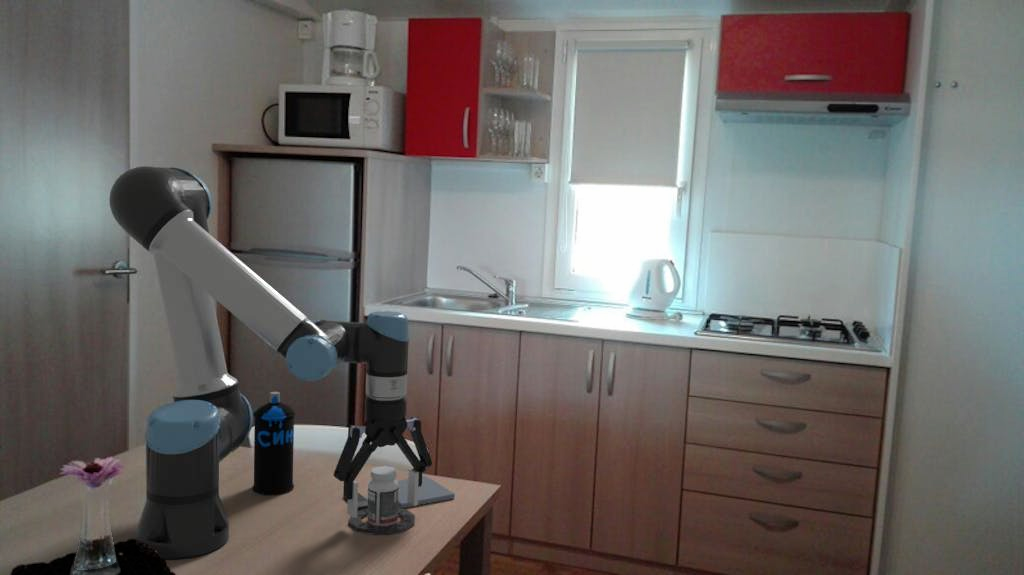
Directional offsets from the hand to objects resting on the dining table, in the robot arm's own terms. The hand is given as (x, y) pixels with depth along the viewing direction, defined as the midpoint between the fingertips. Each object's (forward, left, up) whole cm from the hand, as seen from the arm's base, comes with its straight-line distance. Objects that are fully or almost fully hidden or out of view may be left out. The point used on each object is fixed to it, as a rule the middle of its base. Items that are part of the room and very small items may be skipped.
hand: (383, 509), depth 160 cm
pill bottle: (0, 0, -3) cm, 3 cm away
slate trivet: (+12, +10, -2) cm, 16 cm away
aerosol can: (-12, +26, -3) cm, 29 cm away
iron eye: (0, +4, -2) cm, 5 cm away
